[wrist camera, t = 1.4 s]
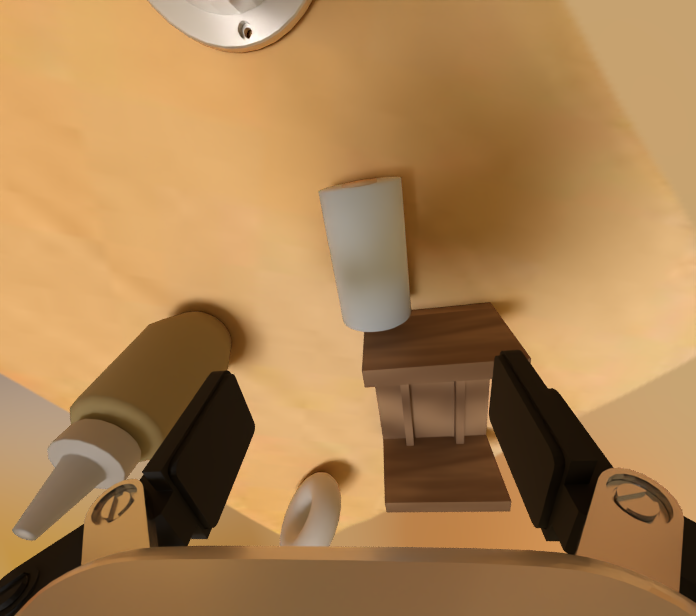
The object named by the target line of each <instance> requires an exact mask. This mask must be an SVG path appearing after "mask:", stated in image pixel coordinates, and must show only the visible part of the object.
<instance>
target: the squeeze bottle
mask: <svg viewBox="0 0 696 616" xmlns="http://www.w3.org/2000/svg"><path fill="white" fill-rule="evenodd" d="M231 344H232V342H231V337H230V333H229V331H228V330H227V328H226V327H225V325H224V324H223V323H222V322H220V321H219V320H218V319H217V318H215V317H214V316H212V315H209V314H207V313H204V312H197V311H190V312H186V313H183V314H179V315H176V316H173V317H169V318H166V319H163V320H160V321H157V322H155V323H152V324H149V325H148V326H147V327H146V328H145V329H144V331H143V332H142V333H141V334H140V335H139V336H138V337H137V338H136V339H135V340H134V341H133V342H132V343H131V344H130V345H129V346H128V347H127V348H126V349H125V350H124V351H123V352H122V353H121V354H120V355H119V356H118V357H117V358H116V359H115V360H114V361H113V362H112V363H111V364H110V365H109V366H108V368H107V369H106V370H105V371H104V372H103V373H102V374H101V375H100V376H99V377H98V378H97V379H96V380H95V381H94V382H93V383H92V384H91V385H90V386H89V387H88V388H87V389H86V390H85V391H84V392H83V393H82V394H81V395H80V396H79V397H78V398H77V400H76V401H75V402H74V403H73V405H72V406H71V407H70V420H71V425H70V426H69V427H68V428H67V429H66V430H65V431H64V432H63V433H62V434H61V435H59V436H58V437H57V438H56V439H55V440H54V441H53V442H52V443H51V444H50V446H49V447H48V459H49V460H50V462H51V463H52V464H53V466H54V467H55V469H54V470H53V471H52V473H51V475H50V476H49V477H48V479H47V480H46V482H45V483H44V485H43V486H42V488H41V489H40V490H39V492H38V493H37V495H36V496H35V498H34V499H33V500H32V502H31V503H30V505H29V506H28V508H27V509H26V511H25V512H24V513H23V515H22V516H21V518H20V519H19V521H18V522H17V524H16V525H15V526H14V528H13V529H12V531H13V533H14V534H15V535H17V536H18V537H20V538H23V539H26V540H36V539H37V538H38V537H39V536H40V535H42V534H43V533H44V532H45V531H46V530H47V529H48V528H49V527H51V526H52V525H53V524H54V523H55V522H56V521H58V520H59V519H60V518H61V517H62V516H63V515H64V514H65V513H67V512H68V511H69V510H70V509H71V508H72V507H73V506H75V505H76V504H77V503H78V502H79V501H80V500H81V499H82V498H84V497H85V496H86V495H87V494H88V493H89V492H91V491H92V490H93V489H94V488H100V489H108V488H110V487H111V486H113V485H114V484H116V483H119V482H121V481H123V480H126V478H127V477H128V476H129V475H130V473H131V472H132V470H133V469H134V468H135V466H136V465H137V464H138V462H142V461H146V460H150V459H151V458H152V457H153V455H154V454H155V452H156V451H157V450H158V448H159V447H160V445H161V444H162V442H163V441H164V439H165V438H166V436H167V435H168V434H169V432H170V431H171V429H172V428H173V426H174V425H175V423H176V422H177V421H178V419H179V418H180V416H181V415H182V413H183V412H184V410H185V409H186V407H187V406H188V405H189V403H190V402H191V400H192V399H193V397H194V396H195V394H196V393H197V392H198V390H199V389H200V387H201V386H202V384H203V383H204V381H205V380H206V378H207V377H208V376H209V374H210V373H211V372H213V371H225V370H227V369H228V364H229V357H230V351H231Z"/></svg>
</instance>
